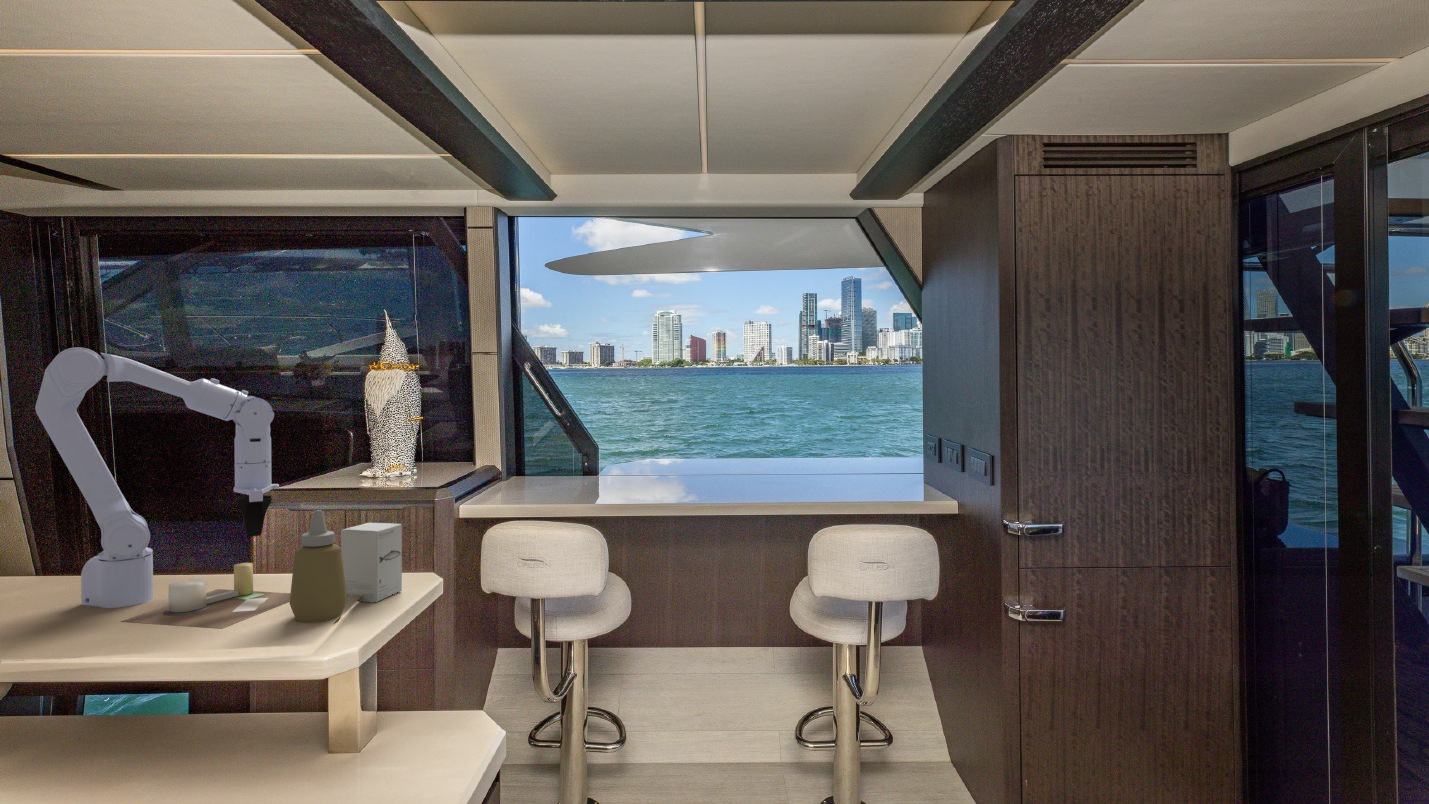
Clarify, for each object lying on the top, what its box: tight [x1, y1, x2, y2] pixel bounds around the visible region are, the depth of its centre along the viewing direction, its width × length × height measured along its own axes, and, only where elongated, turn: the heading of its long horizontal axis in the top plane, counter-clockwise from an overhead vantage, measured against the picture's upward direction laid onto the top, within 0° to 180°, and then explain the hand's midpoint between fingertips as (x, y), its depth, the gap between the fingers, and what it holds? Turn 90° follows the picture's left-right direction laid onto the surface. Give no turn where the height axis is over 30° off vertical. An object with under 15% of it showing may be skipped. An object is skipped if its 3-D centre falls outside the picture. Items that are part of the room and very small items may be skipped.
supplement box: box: [340, 522, 403, 603], centre depth 131 cm, size 7×7×13 cm
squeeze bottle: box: [288, 509, 348, 625], centre depth 116 cm, size 8×8×18 cm
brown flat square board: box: [119, 588, 291, 630], centre depth 120 cm, size 18×18×1 cm
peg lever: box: [167, 562, 254, 612], centre depth 122 cm, size 13×5×5 cm, turn 155°
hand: (253, 535), depth 135 cm, fingers closed
